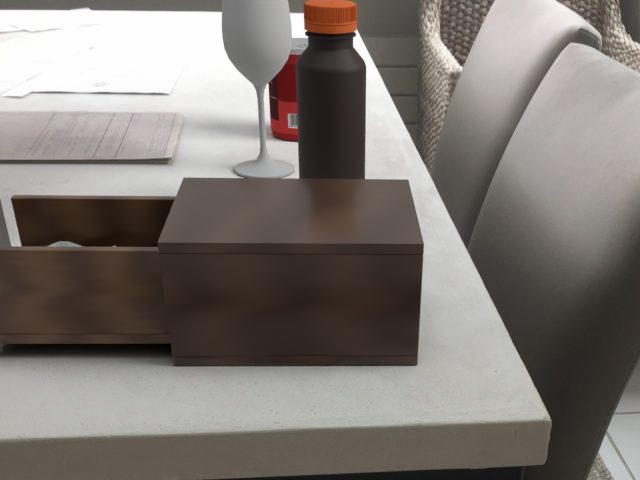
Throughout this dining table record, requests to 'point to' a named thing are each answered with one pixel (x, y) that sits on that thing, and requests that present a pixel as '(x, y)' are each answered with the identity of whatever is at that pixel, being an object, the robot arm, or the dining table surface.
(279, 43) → the wineglass
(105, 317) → the drawer
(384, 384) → the dining table surface
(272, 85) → the canned food
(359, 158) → the bottle
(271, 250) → the cabinet
